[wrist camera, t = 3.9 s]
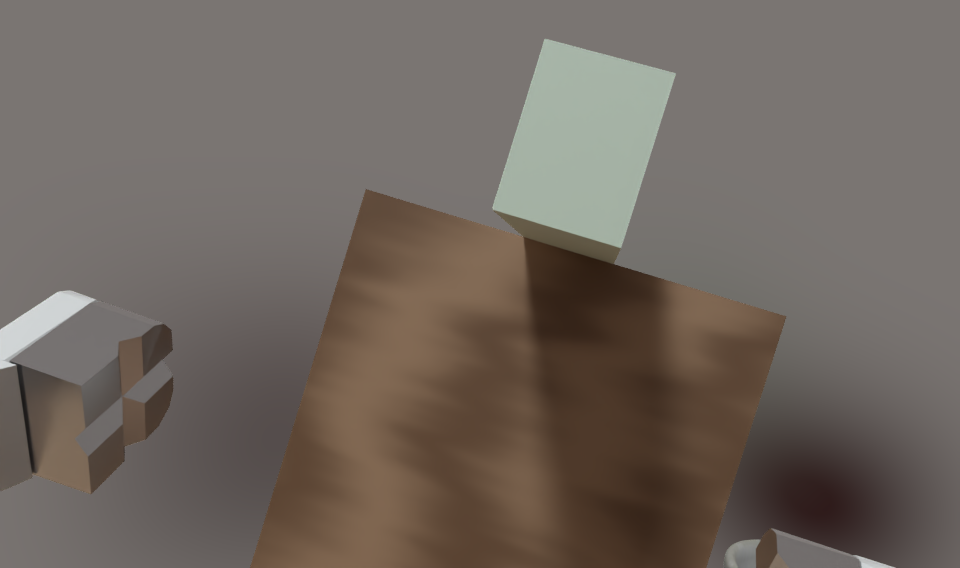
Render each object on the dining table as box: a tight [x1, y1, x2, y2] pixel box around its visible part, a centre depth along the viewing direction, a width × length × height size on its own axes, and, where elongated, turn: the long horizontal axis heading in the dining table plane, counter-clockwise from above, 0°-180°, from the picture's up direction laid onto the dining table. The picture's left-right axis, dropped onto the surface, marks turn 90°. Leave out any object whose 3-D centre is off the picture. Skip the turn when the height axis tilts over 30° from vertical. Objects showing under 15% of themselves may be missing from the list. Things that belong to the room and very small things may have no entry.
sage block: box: [492, 39, 676, 264], centre depth 28 cm, size 3×21×4 cm, turn 172°
